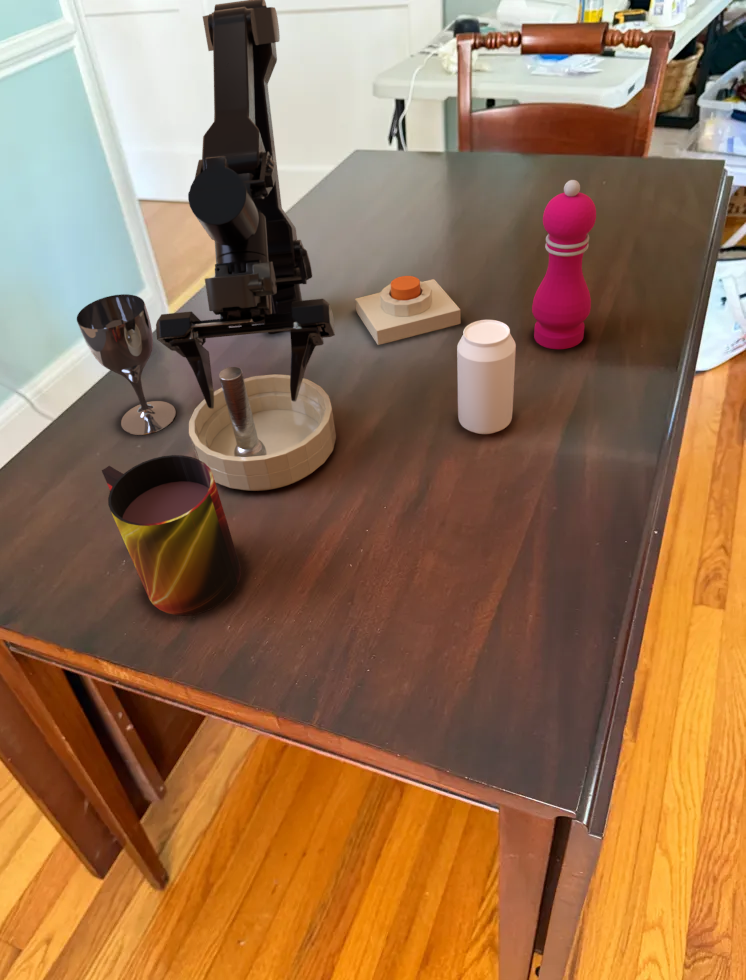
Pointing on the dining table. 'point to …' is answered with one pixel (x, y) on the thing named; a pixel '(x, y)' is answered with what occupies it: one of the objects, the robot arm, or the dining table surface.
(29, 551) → the dining table surface
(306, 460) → the bowl
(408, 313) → the push button box
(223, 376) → the metal pestle
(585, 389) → the dining table surface
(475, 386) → the beverage can
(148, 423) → the wine glass
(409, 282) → the timer button
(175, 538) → the mug
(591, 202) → the pepper mill
